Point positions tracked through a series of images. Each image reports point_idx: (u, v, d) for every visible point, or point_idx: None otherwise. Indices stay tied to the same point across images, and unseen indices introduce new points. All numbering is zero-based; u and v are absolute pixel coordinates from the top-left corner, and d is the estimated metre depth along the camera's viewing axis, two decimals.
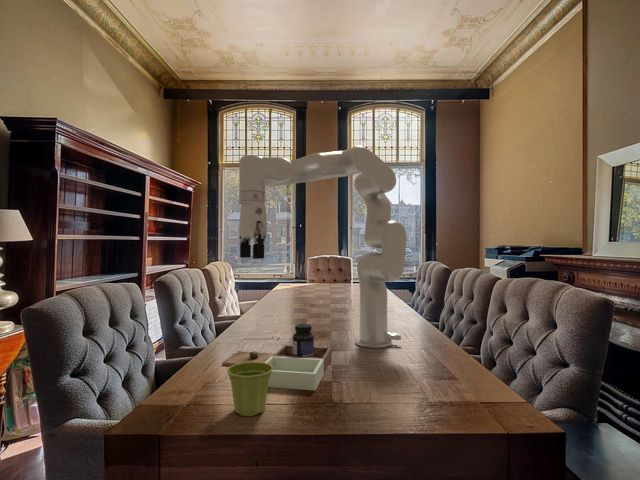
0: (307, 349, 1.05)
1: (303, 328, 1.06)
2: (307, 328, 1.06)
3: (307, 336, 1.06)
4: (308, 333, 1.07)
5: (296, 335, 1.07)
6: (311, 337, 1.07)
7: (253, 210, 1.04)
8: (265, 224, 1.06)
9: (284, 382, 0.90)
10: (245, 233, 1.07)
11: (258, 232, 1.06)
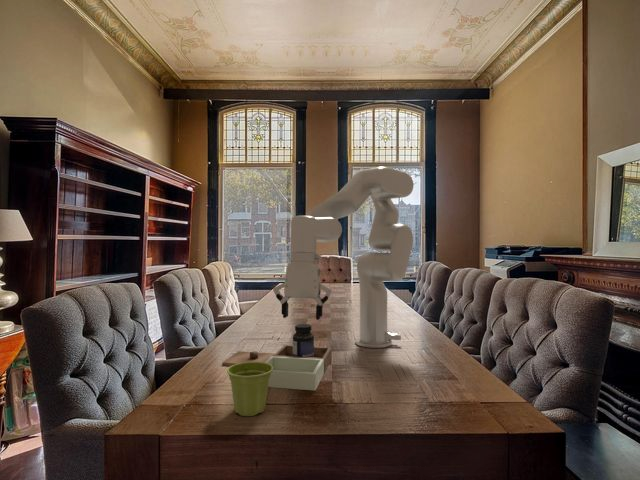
0: (307, 349, 1.05)
1: (303, 328, 1.06)
2: (307, 328, 1.06)
3: (307, 336, 1.06)
4: (308, 333, 1.07)
5: (296, 335, 1.07)
6: (311, 337, 1.07)
7: (317, 272, 1.06)
8: None
9: (284, 382, 0.90)
10: (302, 294, 1.06)
11: None
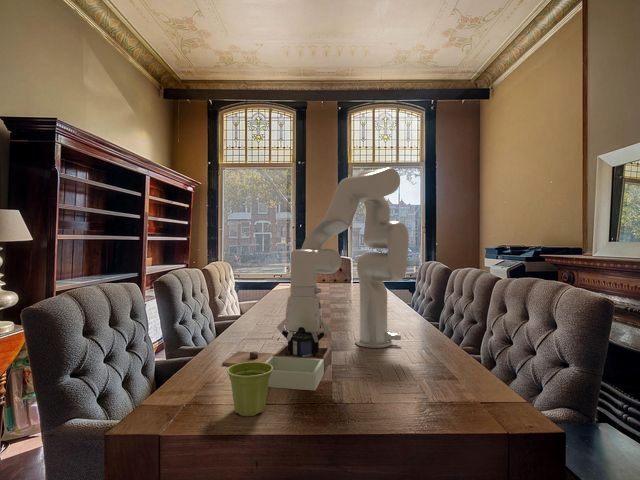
0: (307, 349, 1.05)
1: (303, 328, 1.06)
2: None
3: (307, 336, 1.06)
4: (308, 333, 1.07)
5: (296, 335, 1.07)
6: (311, 337, 1.07)
7: (317, 306, 1.06)
8: (321, 317, 1.09)
9: (284, 382, 0.90)
10: None
11: None
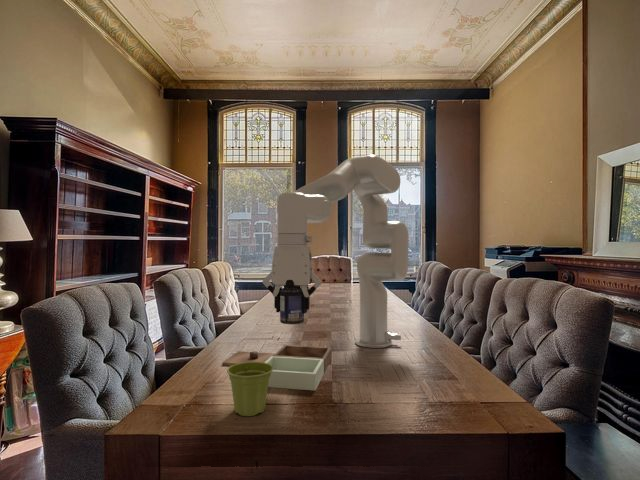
0: (295, 304, 0.93)
1: (291, 281, 0.93)
2: None
3: (296, 290, 0.93)
4: (297, 287, 0.94)
5: (284, 289, 0.94)
6: (301, 291, 0.94)
7: (308, 256, 0.93)
8: (312, 270, 0.97)
9: (284, 382, 0.90)
10: None
11: None
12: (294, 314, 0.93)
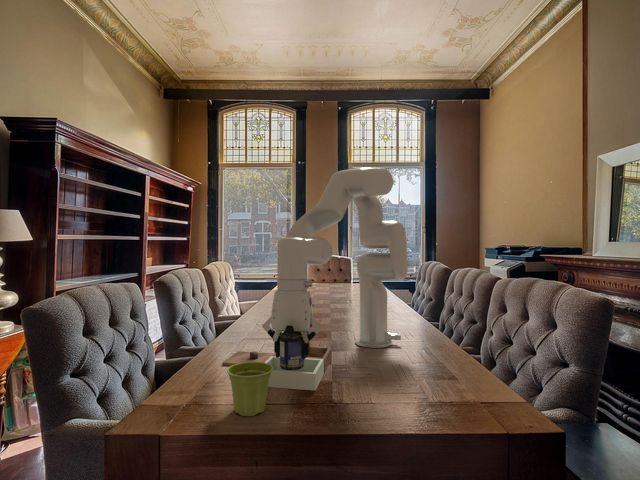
0: (295, 350, 0.93)
1: (291, 327, 0.93)
2: None
3: (296, 336, 0.93)
4: (297, 332, 0.94)
5: (283, 335, 0.94)
6: (300, 337, 0.94)
7: (308, 302, 0.93)
8: (312, 314, 0.97)
9: (284, 382, 0.90)
10: None
11: None
12: (294, 360, 0.92)
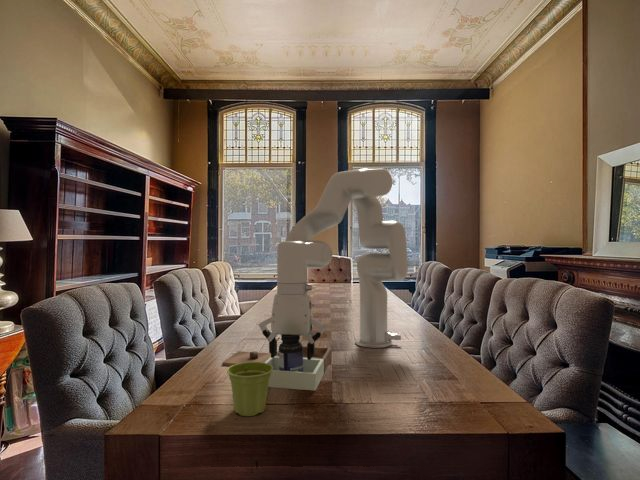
0: (295, 361, 0.93)
1: (290, 337, 0.93)
2: (295, 337, 0.94)
3: (295, 346, 0.93)
4: (296, 343, 0.94)
5: (282, 346, 0.94)
6: (299, 347, 0.94)
7: (308, 305, 0.93)
8: (312, 318, 0.97)
9: (284, 382, 0.90)
10: (291, 331, 0.93)
11: None
12: None
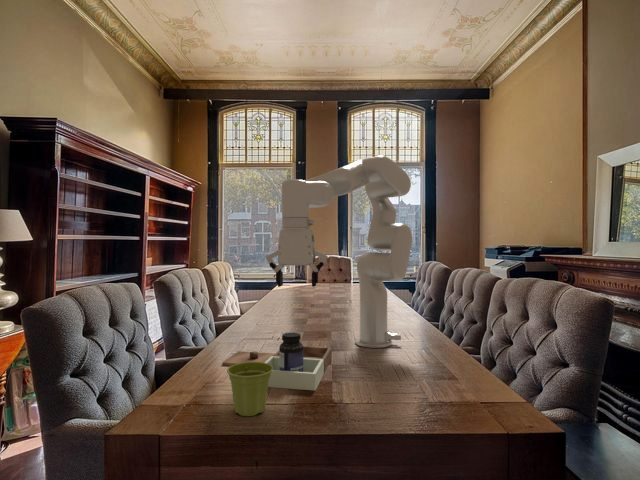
0: (295, 361, 0.93)
1: (291, 337, 0.93)
2: (296, 337, 0.94)
3: (296, 346, 0.93)
4: (297, 343, 0.94)
5: (283, 345, 0.94)
6: (300, 347, 0.94)
7: (311, 237, 1.02)
8: None
9: (284, 382, 0.90)
10: (296, 261, 1.02)
11: None
12: None
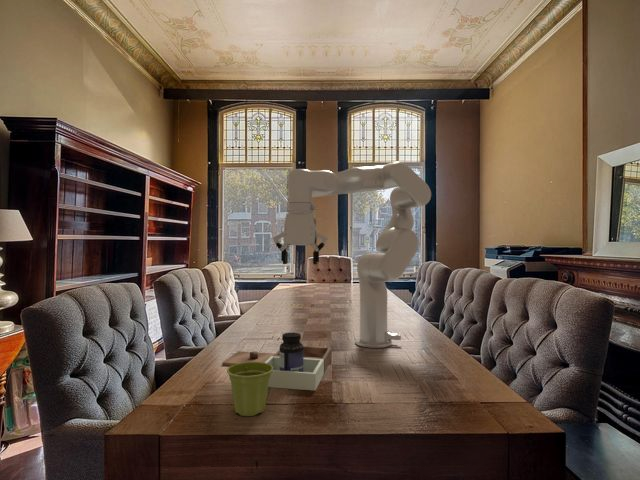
0: (295, 361, 0.93)
1: (291, 337, 0.93)
2: (296, 337, 0.94)
3: (296, 347, 0.93)
4: (297, 343, 0.94)
5: (283, 345, 0.94)
6: (300, 348, 0.94)
7: (313, 221, 1.15)
8: None
9: (284, 382, 0.90)
10: (299, 241, 1.15)
11: None
12: None
